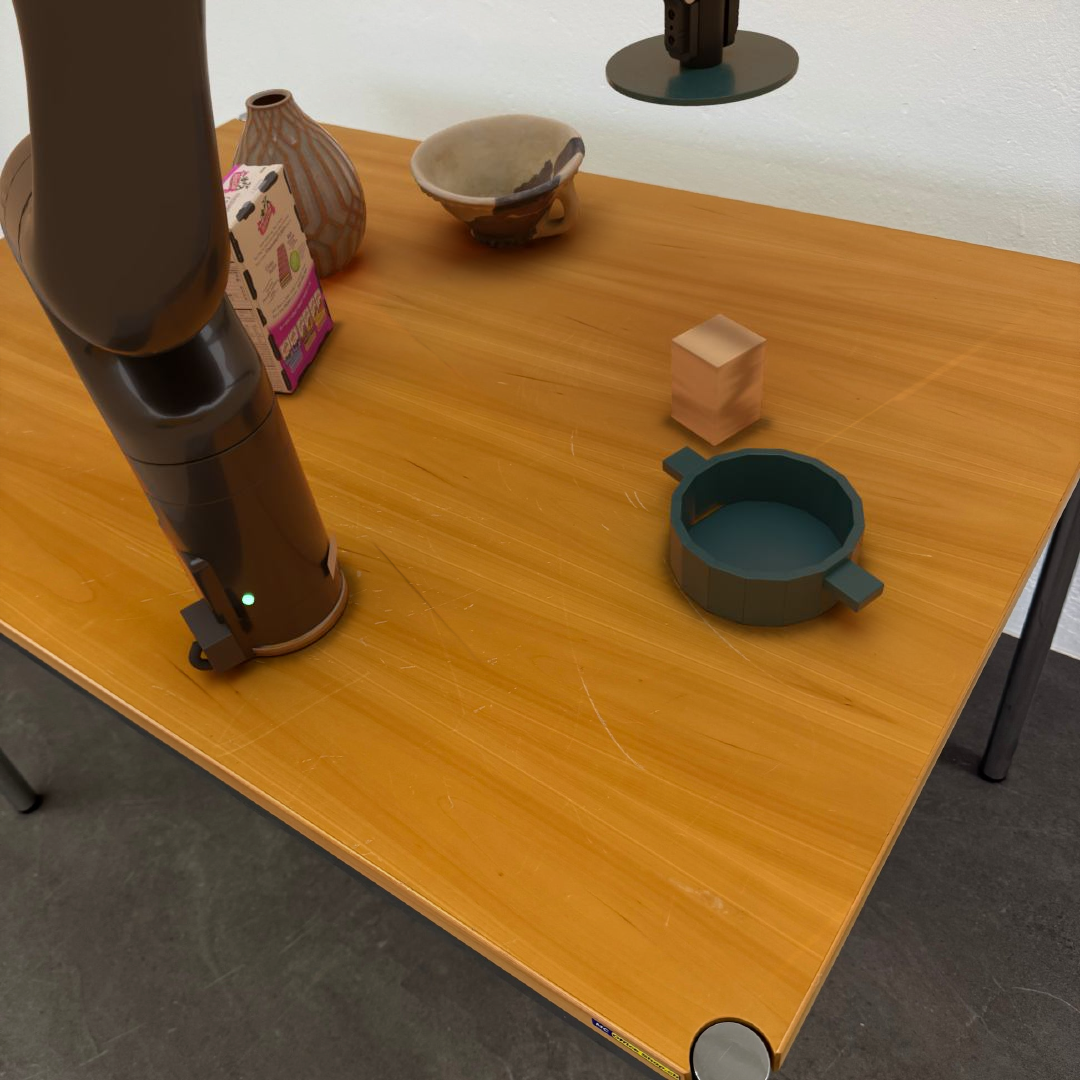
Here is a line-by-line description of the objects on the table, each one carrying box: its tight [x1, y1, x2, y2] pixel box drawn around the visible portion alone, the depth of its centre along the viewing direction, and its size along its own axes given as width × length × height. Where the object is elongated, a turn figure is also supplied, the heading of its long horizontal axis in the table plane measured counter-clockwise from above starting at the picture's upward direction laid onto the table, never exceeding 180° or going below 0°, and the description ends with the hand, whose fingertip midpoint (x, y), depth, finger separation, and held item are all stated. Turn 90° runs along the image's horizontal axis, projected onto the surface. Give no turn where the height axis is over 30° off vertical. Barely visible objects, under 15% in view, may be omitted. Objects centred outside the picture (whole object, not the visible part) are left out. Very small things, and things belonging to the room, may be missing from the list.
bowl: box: [409, 113, 586, 249], centre depth 98 cm, size 18×18×10 cm
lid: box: [604, 0, 800, 107], centre depth 65 cm, size 14×14×7 cm
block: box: [670, 313, 768, 447], centre depth 74 cm, size 5×5×8 cm
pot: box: [662, 445, 885, 627], centre depth 64 cm, size 12×18×5 cm
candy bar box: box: [222, 164, 335, 394], centre depth 83 cm, size 11×5×16 cm, turn 168°
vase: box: [230, 88, 368, 281], centre depth 95 cm, size 13×13×18 cm
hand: (701, 49), depth 66 cm, fingers closed on lid, 3 cm apart
